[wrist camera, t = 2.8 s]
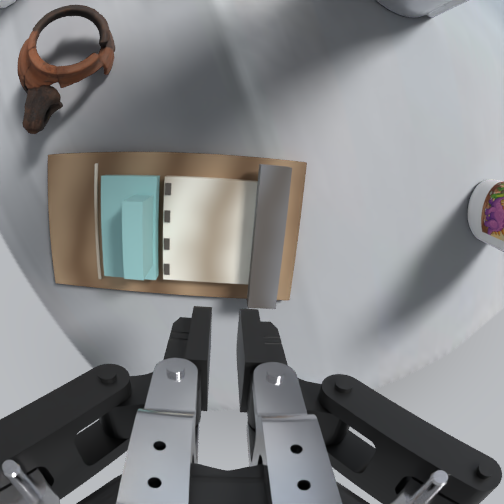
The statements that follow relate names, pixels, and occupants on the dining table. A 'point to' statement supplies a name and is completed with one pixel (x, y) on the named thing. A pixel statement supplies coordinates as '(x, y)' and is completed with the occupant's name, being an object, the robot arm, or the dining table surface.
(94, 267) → the ticket holder
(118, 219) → the stub
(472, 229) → the milk bottle
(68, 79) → the pottery mug
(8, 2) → the white cup
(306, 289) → the dining table surface
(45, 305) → the dining table surface
